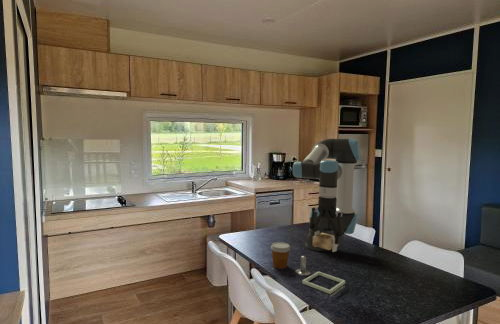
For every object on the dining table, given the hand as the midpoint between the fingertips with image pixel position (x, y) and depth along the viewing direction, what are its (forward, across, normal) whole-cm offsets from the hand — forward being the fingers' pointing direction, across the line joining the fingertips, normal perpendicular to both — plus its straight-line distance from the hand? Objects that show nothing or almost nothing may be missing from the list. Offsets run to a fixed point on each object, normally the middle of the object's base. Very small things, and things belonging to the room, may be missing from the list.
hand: (325, 248), depth 137 cm
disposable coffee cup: (+17, -25, +2) cm, 31 cm away
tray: (+17, 0, 0) cm, 17 cm away
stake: (+17, -13, +4) cm, 22 cm away
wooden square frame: (-1, 0, 0) cm, 1 cm away
